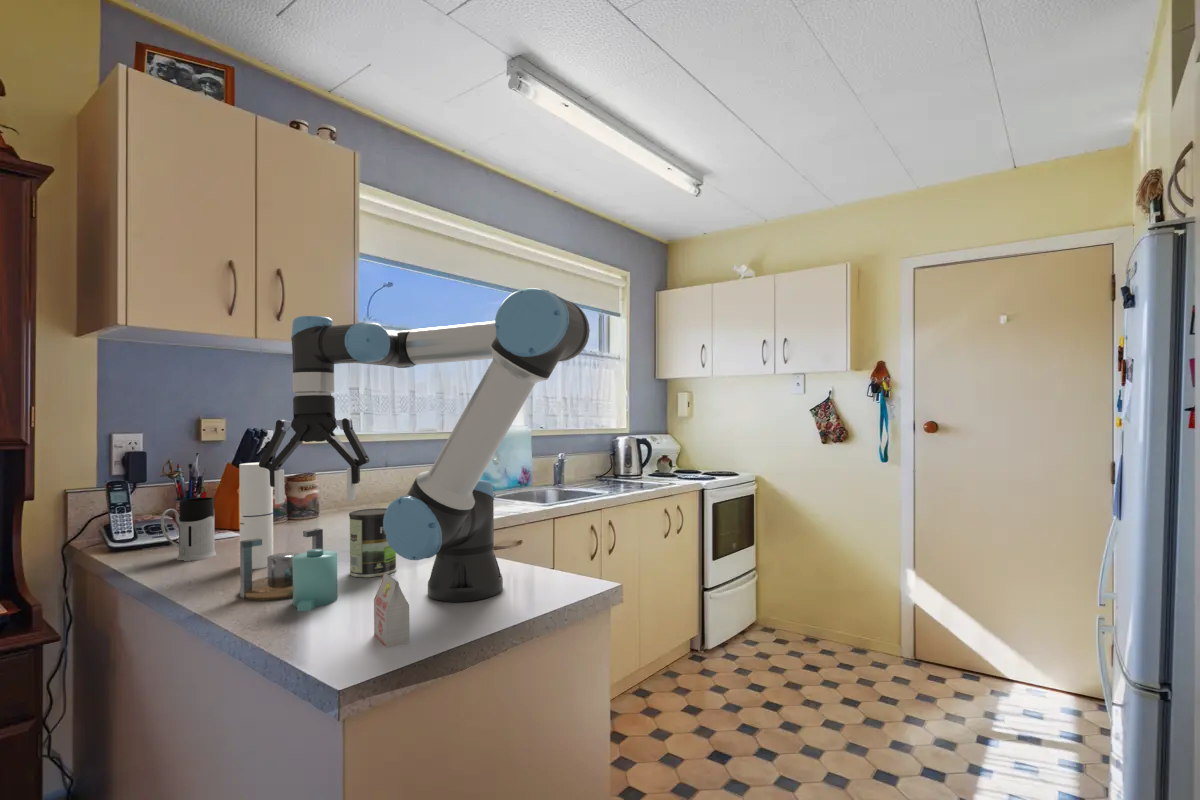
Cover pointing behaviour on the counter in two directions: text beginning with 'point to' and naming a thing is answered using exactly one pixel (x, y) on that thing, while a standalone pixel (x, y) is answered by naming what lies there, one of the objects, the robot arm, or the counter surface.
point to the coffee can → (370, 544)
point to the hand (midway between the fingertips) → (315, 502)
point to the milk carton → (391, 613)
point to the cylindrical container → (256, 511)
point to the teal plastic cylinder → (314, 579)
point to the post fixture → (271, 570)
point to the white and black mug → (194, 529)
